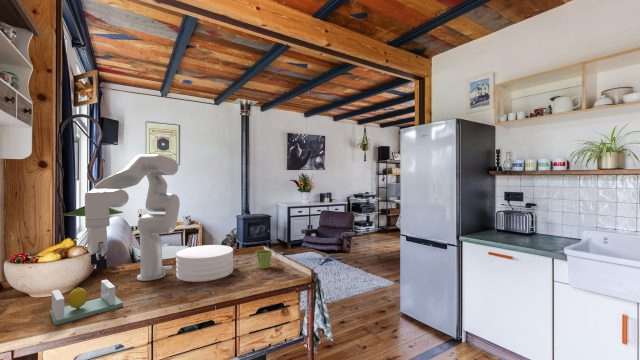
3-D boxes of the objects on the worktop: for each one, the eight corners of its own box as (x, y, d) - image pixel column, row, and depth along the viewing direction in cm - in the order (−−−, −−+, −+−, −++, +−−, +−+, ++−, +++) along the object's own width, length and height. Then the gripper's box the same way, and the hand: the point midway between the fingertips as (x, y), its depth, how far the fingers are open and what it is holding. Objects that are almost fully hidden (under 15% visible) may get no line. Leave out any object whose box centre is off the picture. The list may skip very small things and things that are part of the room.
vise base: (114, 298, 125) (114, 277, 125) (122, 306, 117) (122, 284, 117) (50, 314, 110) (49, 291, 110) (54, 325, 102) (54, 300, 102)
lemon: (67, 308, 112) (67, 287, 111) (86, 304, 115) (86, 283, 115) (69, 313, 108) (68, 291, 107) (88, 308, 112) (88, 287, 111)
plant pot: (257, 264, 172) (257, 249, 172) (274, 265, 172) (274, 249, 172) (253, 269, 163) (253, 253, 163) (270, 270, 163) (270, 254, 163)
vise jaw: (107, 295, 123) (106, 279, 123) (115, 303, 115) (115, 286, 115) (101, 296, 122) (100, 280, 122) (109, 305, 114) (109, 288, 114)
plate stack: (222, 282, 145) (222, 258, 145) (165, 281, 145) (165, 258, 145) (239, 264, 173) (239, 245, 173) (191, 264, 173) (191, 244, 173)
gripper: (81, 221, 119) (82, 264, 120) (89, 227, 107) (91, 274, 108) (104, 219, 124) (105, 260, 125) (114, 224, 113) (115, 269, 113)
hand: (98, 266), depth 116 cm, fingers open, 9 cm apart
